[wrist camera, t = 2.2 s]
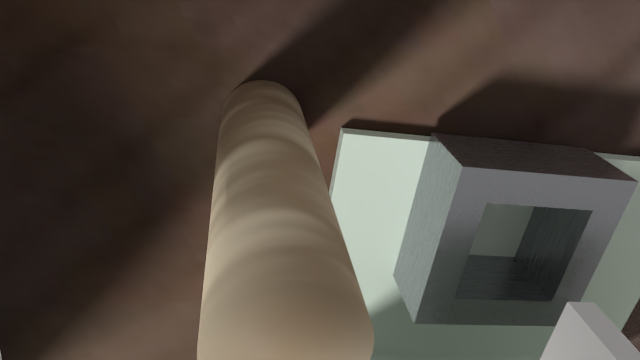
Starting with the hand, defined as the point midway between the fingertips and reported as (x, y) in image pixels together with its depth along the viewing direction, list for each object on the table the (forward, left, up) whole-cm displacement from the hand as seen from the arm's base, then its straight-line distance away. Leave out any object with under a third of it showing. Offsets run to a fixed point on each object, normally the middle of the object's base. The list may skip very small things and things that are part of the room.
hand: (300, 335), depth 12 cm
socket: (+13, -4, -15) cm, 20 cm away
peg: (0, 0, -15) cm, 15 cm away
